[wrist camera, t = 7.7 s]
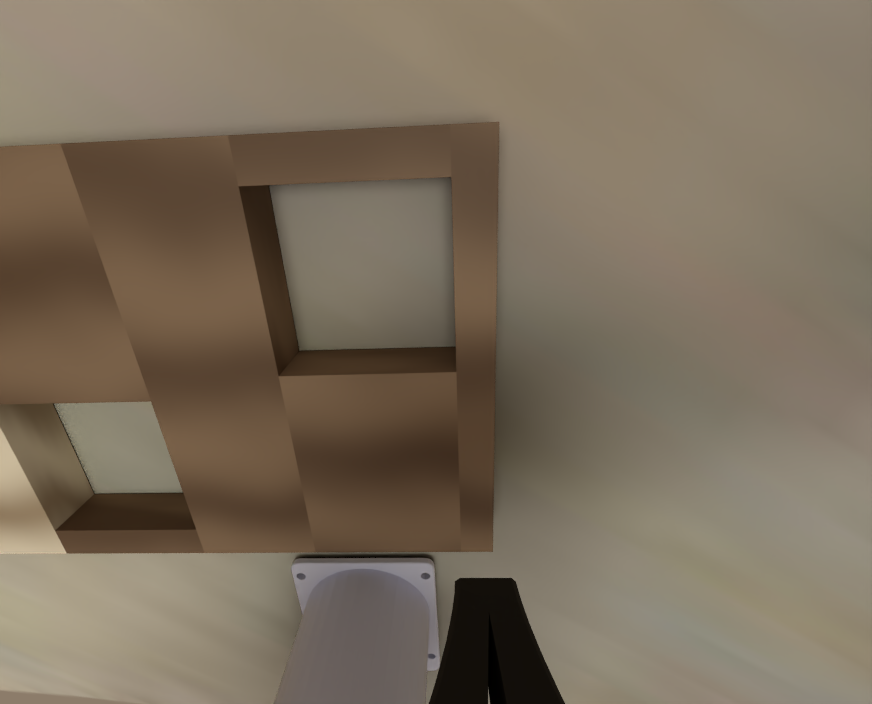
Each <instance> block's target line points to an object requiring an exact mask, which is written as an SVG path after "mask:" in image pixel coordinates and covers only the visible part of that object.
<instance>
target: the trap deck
mask: <svg viewBox="0 0 872 704" xmlns="http://www.w3.org/2000/svg"><path fill="white" fill-rule="evenodd" d="M498 164H499V122H487V123H467V124H447V125H427V126H407V127H387V128H367V129H347V130H327V131H307V132H287V133H267V134H247V135H227V136H207V137H187V138H167V139H147V140H127V141H106V142H86V143H66V144H46V145H26V146H6V147H0V554H45V553H279V552H493V504H494V436H495V368H496V300H497V232H498ZM439 177H451V180H452V219H453V258H454V297H455V336H456V347H433V348H395V349H357V350H318V351H299V348H298V343H297V337H296V332H295V327H294V321H293V316H292V310H291V305H290V299H289V294H288V289H287V283H286V278H285V272H284V267H283V262H282V256H281V251H280V245H279V240H278V234H277V229H276V224H275V218H274V213H273V207H272V202H271V196H270V191H269V186H268V185H281V184H303V183H326V182H348V181H371V180H393V179H416V178H439ZM142 401H151V402H152V405H153V408H154V411H155V414H156V417H157V419H158V422H159V425H160V428H161V431H162V434H163V436H164V439H165V442H166V445H167V448H168V451H169V454H170V456H171V459H172V462H173V465H174V468H175V471H176V473H177V476H178V479H179V482H180V485H181V488H182V490H183V493H157V494H94V493H93V491H92V488H91V486H90V484H89V482H88V480H87V477H86V475H85V473H84V471H83V469H82V467H81V464H80V462H79V460H78V458H77V456H76V453H75V451H74V449H73V447H72V445H71V443H70V440H69V438H68V436H67V434H66V432H65V429H64V427H63V425H62V423H61V421H60V419H59V416H58V414H57V412H56V410H55V408H54V405H53V403H94V402H142Z"/></svg>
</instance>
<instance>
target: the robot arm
mask: <svg viewBox="0 0 872 704" xmlns="http://www.w3.org/2000/svg"><path fill="white" fill-rule="evenodd" d="M291 571H292V575H293V579H294V583H295V587H296V591H297V595H298V599H299V603H300V607H301V611H302V615H303V616H302V619H301V622H300V625H299V628H298V631H297V634H296V637H295V640H294V643H293V646H292V649H291V652H290V656H289V659H288V662H287V665H286V668H285V671H284V674H283V677H282V680H281V683H280V686H279V689H278V692H277V695H276V698H275V701H274V704H426V684H427V671H435V670H437V669H438V668H439V672H438V675H437V679H436V683H435V686H434V689H433V692H432V696H431V699H430V702H429V704H488V689H489V696H490V704H565V703H564V701H563V699H562V697H561V694H560V692H559V690H558V688H557V686H556V684H555V682H554V679H553V677H552V675H551V673H550V671H549V669H548V666H547V664H546V662H545V660H544V658H543V655H542V653H541V651H540V648H539V646H538V644H537V641H536V639H535V636H534V634H533V631H532V629H531V626H530V624H529V621H528V618H527V616H526V613H525V610H524V607H523V604H522V601H521V598H520V595H519V592H518V588H517V584H516V581H514V580H513V579H512V578H459V579H458V580H457V581H455V594H454V602H453V610H452V616H451V621H450V626H449V631H448V636H447V640H446V644H445V648H444V652H443V656H442V660H441V664H440V649H439V633H438V616H437V600H436V583H435V567H434V562H433V561H432V560H431V559H429V558H299V559H296V560H294V562H293V564H292V566H291Z"/></svg>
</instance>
